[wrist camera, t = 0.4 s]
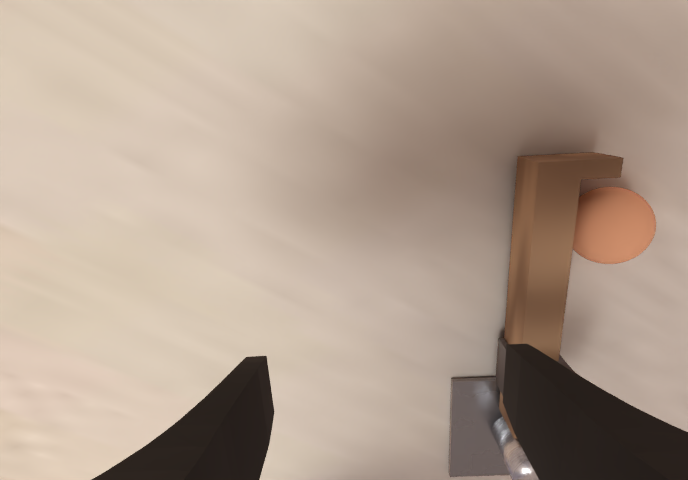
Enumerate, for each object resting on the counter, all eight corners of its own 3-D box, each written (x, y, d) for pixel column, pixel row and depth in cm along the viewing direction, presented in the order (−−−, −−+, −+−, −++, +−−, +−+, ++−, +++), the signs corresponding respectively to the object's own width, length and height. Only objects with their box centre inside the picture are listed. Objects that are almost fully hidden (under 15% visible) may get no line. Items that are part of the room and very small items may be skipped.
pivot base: (561, 468, 25) (594, 524, 22) (448, 472, 25) (463, 527, 22) (575, 373, 23) (613, 418, 20) (451, 378, 23) (468, 423, 20)
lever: (559, 406, 23) (611, 480, 18) (493, 408, 23) (529, 482, 18) (592, 152, 19) (671, 166, 14) (511, 156, 19) (563, 172, 14)
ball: (616, 247, 21) (668, 273, 17) (547, 250, 21) (585, 277, 17) (627, 178, 19) (684, 193, 16) (554, 182, 20) (596, 197, 16)
